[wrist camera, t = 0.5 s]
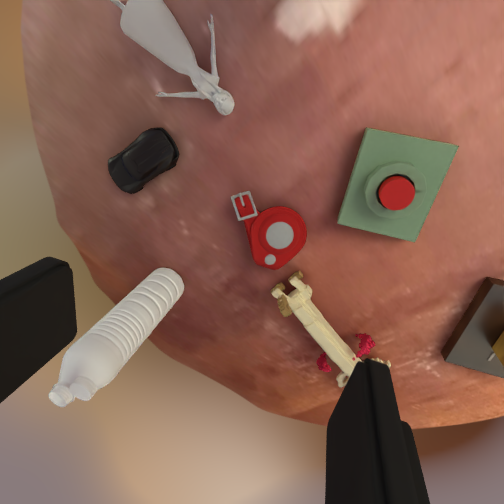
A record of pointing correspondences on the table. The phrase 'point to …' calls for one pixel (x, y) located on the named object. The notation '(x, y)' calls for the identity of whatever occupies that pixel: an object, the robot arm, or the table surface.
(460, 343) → the lock plate
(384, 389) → the robot arm
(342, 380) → the blocky toy figure
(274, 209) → the tracker holder
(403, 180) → the button
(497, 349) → the lock knob
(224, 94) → the woman figurine
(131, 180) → the toy car
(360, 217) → the green button base
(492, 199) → the table surface
